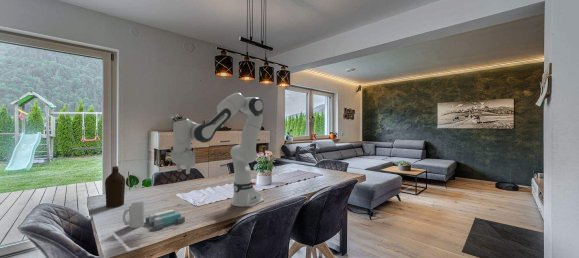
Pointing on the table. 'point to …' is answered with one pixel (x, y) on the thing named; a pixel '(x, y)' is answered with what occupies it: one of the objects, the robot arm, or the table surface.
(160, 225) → the cord comb
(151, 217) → the grey elongated block
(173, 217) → the teal rectangular block
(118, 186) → the olive oil
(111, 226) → the table surface
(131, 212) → the mug
